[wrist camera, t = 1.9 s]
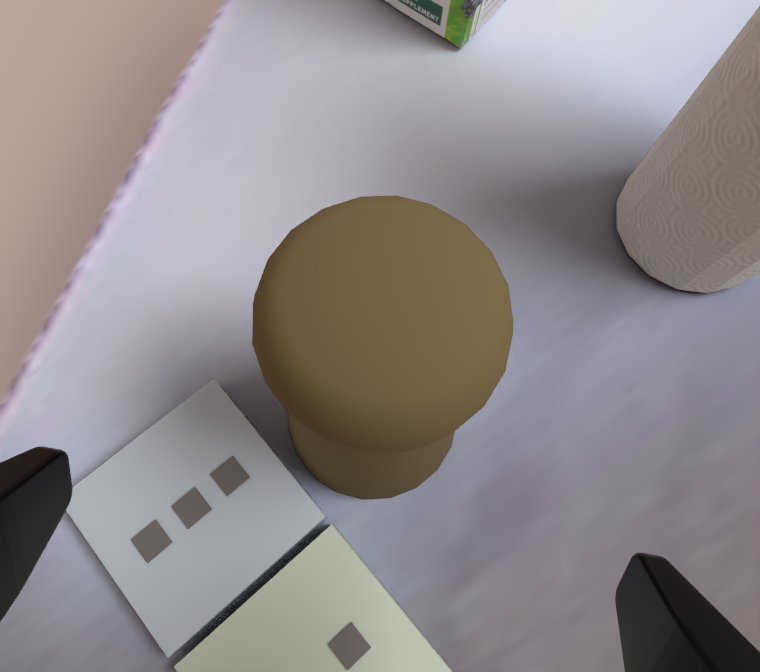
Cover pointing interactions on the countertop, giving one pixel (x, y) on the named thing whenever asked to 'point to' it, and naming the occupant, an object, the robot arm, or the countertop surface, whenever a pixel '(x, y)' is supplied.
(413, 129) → the countertop surface
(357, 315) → the cork
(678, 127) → the paper towel roll
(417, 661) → the tile strip
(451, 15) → the syrup box
